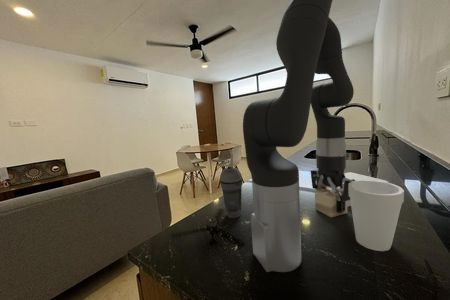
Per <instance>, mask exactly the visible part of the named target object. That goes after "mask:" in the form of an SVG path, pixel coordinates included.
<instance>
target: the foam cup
mask: <svg viewBox="0 0 450 300" xmlns="http://www.w3.org/2000/svg"><path fill="white" fill-rule="evenodd" d="M348 193H349V197H350V201H351V206H350V207H351V213H352V215H351V216H352V219H353V220H352V221H353V228H354V235H355V240H356V242H357V243H358V244H359V245H360V246H363V247H364V248H366V249H369V250H372V251H378V252H385V251H389V250H390V249H391V248H392V245H393V241H394V236H395V233H396V230H397V225H398V220H399V217H400V212H401V208H402V204H404V203H405V202H404V199H405V190H404V189H403V188H402V187H401V186H399V185H396V184H394V183H390V182H389V183H386V182H382V181H373V180H358V181H352V182H350V183H349V187H348Z"/></svg>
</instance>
